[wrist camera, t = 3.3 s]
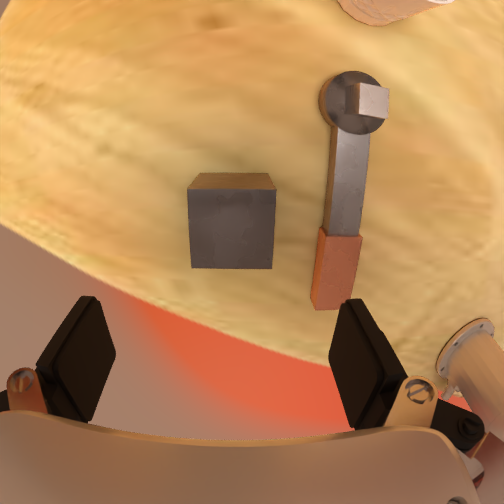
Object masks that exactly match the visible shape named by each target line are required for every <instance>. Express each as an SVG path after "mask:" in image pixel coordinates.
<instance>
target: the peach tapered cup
mask: <svg viewBox="0 0 504 504" xmlns="http://www.w3.org/2000/svg"><path fill="white" fill-rule="evenodd" d="M453 1H455V0H338V2H339V4H340V5H341V7H342V8H343V10H344V11H346V12H347V13H348V14H349V15H351V16H352V17H353V18H354V19H356V20H358V21H360V22H363V23H366V24H368V25H371V26H385V25H387V24H389V23H392V22H394V21H396V20H401V19H404V18H408V17H410V16H414V15H416V14H419V13H422V12H424V11H427V10H430V9H433V8H436V7H439V6H442V5H445V4H448V3H451V2H453Z"/></svg>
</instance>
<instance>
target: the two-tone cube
mask: <svg viewBox="0 0 504 504" xmlns="http://www.w3.org/2000/svg"><path fill="white" fill-rule="evenodd" d="M187 196H188V219H189V237H190V253H191V267H192V268H216V269H272V259H273V243H274V226H275V207H276V188H275V186H274V184H273V182H272V180H271V178H270V176H269V174H268V173H200V174H199V175H198V176H197V177H196V179H195V180H194V181H193V182H192V184H191V185H190V186H189V187H188V189H187Z"/></svg>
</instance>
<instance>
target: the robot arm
mask: <svg viewBox="0 0 504 504" xmlns="http://www.w3.org/2000/svg"><path fill="white" fill-rule="evenodd" d="M493 336H494V326H493V324H492V323H491V322H490V321H489V320H488V319H484V318H483V319H478V320H475V321H473V322H471V323H469V324H468V325H466V326H465V327H463V328H462V329H461V330H460V331H459V332H458V333H457V334H456V335H454V336H453V337H452V339H451V340H450V341H449V342H448V343H447V345H446V346H445V347H444V349H443V350H442V352H441V354H440V356H439V358H438V361H437V365H436V369H437V372H438V374H439V375H440V377H442V378H445V379H448V383H447V385H448V386H447V387H446V388H445V390H444V391H443V393H442V394H441V397H442V399H443V400H448V399H449V398H450V397H451V396H452V394H453V392H454V390H456V391H457V392H461V393H462V395H463V397H464V398H465V400H466V401H467V403H468V405H469V407H470V409H471V410H472V412H473V413H472V412H470V411H467V410H465V409H462V408H460V407H457V406H455V405H453V404H450V403H448V402H445V401H443V400H441V399H438V390H437V387H436V386H435V385H434V383H433V382H431V381H430V380H429V379H427V378H425V377H422V376H411V377H408V376H407V374H406V372H405V370H404V368H403V367H402V365H401V363H400V361H399V359H398V358H397V356H396V354H395V352H394V350H393V349H392V347H391V345H390V343H389V342H388V340H387V338H386V336H385V335H384V333H383V332H382V331H381V330H380V329H379V328H378V326H377V324H376V322H375V321H374V319H373V317H372V316H371V314H370V312H369V311H368V309H367V307H366V306H365V304H364V302H363V301H362V299H347V300H346V301H345V303H342V304H341V306H340V310H339V314H338V318H337V323H336V327H335V331H334V335H333V339H332V343H331V347H330V350H329V356H328V357H329V363H330V366H331V369H332V372H333V375H334V378H335V381H336V384H337V388H338V391H339V393H340V397H341V400H342V403H343V406H344V410H345V413H346V416H347V419H348V422H349V425H350V427H351V428H355V431H349V432H343V433H335V434H327V435H319V436H310V437H300V438H289V439H288V438H287V439H272V440H271V439H270V440H204V439H203V440H202V439H187V438H176V437H175V438H174V437H165V436H156V435H149V434H141V433H135V432H128V431H122V430H116V429H111V428H106V427H101V426H97V425H92V424H88V421H91V420H92V418H93V415H94V412H95V410H96V407H97V404H98V401H99V399H100V396H101V393H102V391H103V388H104V385H105V383H106V380H107V378H108V375H109V373H110V370H111V367H112V365H113V362H114V360H115V357H116V351H115V348H114V345H113V342H112V339H111V336H110V333H109V330H108V326H107V323H106V320H105V317H104V313H103V310H102V306H101V303H100V301H98V300H97V299H96V298H95V297H94V296H81V297H80V298H79V300H78V301H77V302H76V304H75V305H74V306H73V308H72V309H71V311H70V312H69V314H68V315H67V316H66V318H65V319H64V321H63V322H62V324H61V325H60V327H59V328H58V330H57V331H56V333H55V334H54V336H53V337H52V339H51V340H50V342H49V343H48V345H47V346H46V348H45V350H44V351H43V353H42V354H41V356H40V358H39V359H38V361H37V363H36V366H37V368H36V369H35V371H34V370H33V369H31V368H26V367H24V368H19V369H17V370H15V371H14V372H13V373H12V374H11V375H10V376H9V378H8V380H7V390H4V391H2V392H0V504H504V351H503V350H502V349H501V348H500V346H499V345H498V344H497V343H496V342H495V340H494V339H493Z"/></svg>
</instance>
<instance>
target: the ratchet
mask: <svg viewBox="0 0 504 504" xmlns="http://www.w3.org/2000/svg"><path fill="white" fill-rule="evenodd" d="M318 102H319V109H320V112H321V114H322V116H323V118H324V119H325V121H326V122H327V123H328V124H329V125H330V126H331V140H330V155H329V168H328V180H327V191H326V201H325V210H324V220H323V227H320V229H319V237H318V245H317V253H316V261H315V269H314V276H313V283H312V290H311V297H310V298H311V301H312V304H313V306H314V309H315V310H338V309H340V306H341V304H342V303H345V301H346V300H347V299H350V298H351V293H352V289H353V284H354V279H355V275H356V270H357V265H358V260H359V254H360V249H361V244H362V238H363V237H362V236H361V235H360V234H359V227H360V221H361V214H362V207H363V200H364V192H365V184H366V175H367V166H368V156H369V144H370V133H372V132H374V131H375V130H377V129H378V128H379V127H380V126H381V125H382V123H383V122H384V120H385V119H388V107H389V89H388V88H384V87H381V86H380V84H379V83H378V82H377V81H376V80H375V79H374V78H372V77H371V76H369V75H368V74H365V73H363V72H359V71H348V72H344V73H341V74H339V75H337V76H335V77H332V78H331V79H329V80H328V81H327V82H326V83H325V84H324V85H323V86H322V88H321V90H320V93H319V99H318Z"/></svg>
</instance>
